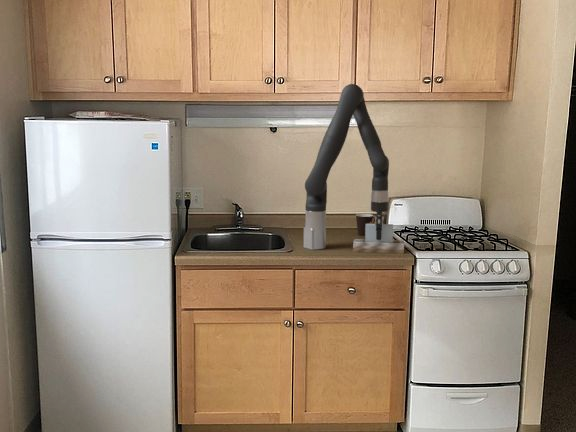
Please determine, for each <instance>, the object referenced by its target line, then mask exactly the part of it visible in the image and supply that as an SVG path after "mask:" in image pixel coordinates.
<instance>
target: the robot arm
mask: <svg viewBox="0 0 576 432" xmlns="http://www.w3.org/2000/svg"><path fill="white" fill-rule="evenodd" d="M366 105H367V104H366V101H365V96H364V90H363V89H362V87H360V85H357V84H355V83H349V84H347V85H345V87H343V89H342V91H341V93H340V96H339V100H338V104H337V107H336V110H335V112H334V115H333V117H332V119H331V120H330V123H329V125H328V126H327V129H326V131H325V133H324V136H323V138H322V141H321V143H320V147H319V149H318V153H317V156H316V160H315V162H314V165H313V167H312V169H311V171H310V173H309V175H308V177H307V179H306V180H305V182H304V189H305V193H306V199H305V218H304V220H305V226H303V248H304V249H307V250H312V251H313V250H324V249H326V248H327V247H326V246H327V245H326V243H327V242H326V241H327V234H326V233H327V227H326V226H327V202H328V201H327V199H328V198H327V197H328V184H327V180H328V177H329V174H330V172H331V169H332V167H333V166H334V164H335V162H336V161H337V159H338V157H339V155H340V154H341V152H342V149H343V147H344V144H345V142H346V139H347V136H348V132H349V129H350V125H351V124H350V123H351V120H352V118H353V117H354V120H355V122H356V126H357V128H358V133H359V135H360V137H361V140H362V143H363V146H364V148H365V150H366V152H367V156H368V159H369V162H370V164H371V166H372V170H373V171H372V174H373V176H372V180H371V195H370V211H371V212H374V213H376V214H374V217H375V222H374V224H375V226H376V239H377V240H381V232H382V226H383V224H384V217H385V215H384V214H383V212H384V213H386V212H388V211H389V169H390V159H389V158H388V156H386V154H385V152H384V149H383V147H382V143H381V138H380V137H379V135H378V132H377V130H376V127H375V125H374V124H373V121H372V119H371V116H370V114H369V112H368V109H367V106H366ZM377 227H381V228H377Z"/></svg>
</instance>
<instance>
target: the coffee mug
mask: <svg viewBox="0 0 576 432" xmlns="http://www.w3.org/2000/svg"><path fill="white" fill-rule="evenodd" d="M355 218H356V229H357V235H358V236H360V237H365V226H366V224H375V215H373V214H370V213H357V214H355Z"/></svg>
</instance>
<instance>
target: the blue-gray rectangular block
mask: <svg viewBox="0 0 576 432" xmlns="http://www.w3.org/2000/svg"><path fill="white" fill-rule="evenodd" d="M377 228H381V227H377ZM364 237H365V242H378V243H393V240H394V224H393V223H390V224H389V223H383V226H382V232H381V240H377V239H376V226H375V223H374V224H366V226H365V236H364Z"/></svg>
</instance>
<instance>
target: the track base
mask: <svg viewBox="0 0 576 432" xmlns="http://www.w3.org/2000/svg"><path fill="white" fill-rule="evenodd" d="M352 243H353V244H352V252H353V253H354V252H355V253H356V252H357V253H379V254H382V253H383V254H405V241H404V240H395V239H393V243H378V242H365V239H364V238H362V239H360V238H354V239H353V242H352Z"/></svg>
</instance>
